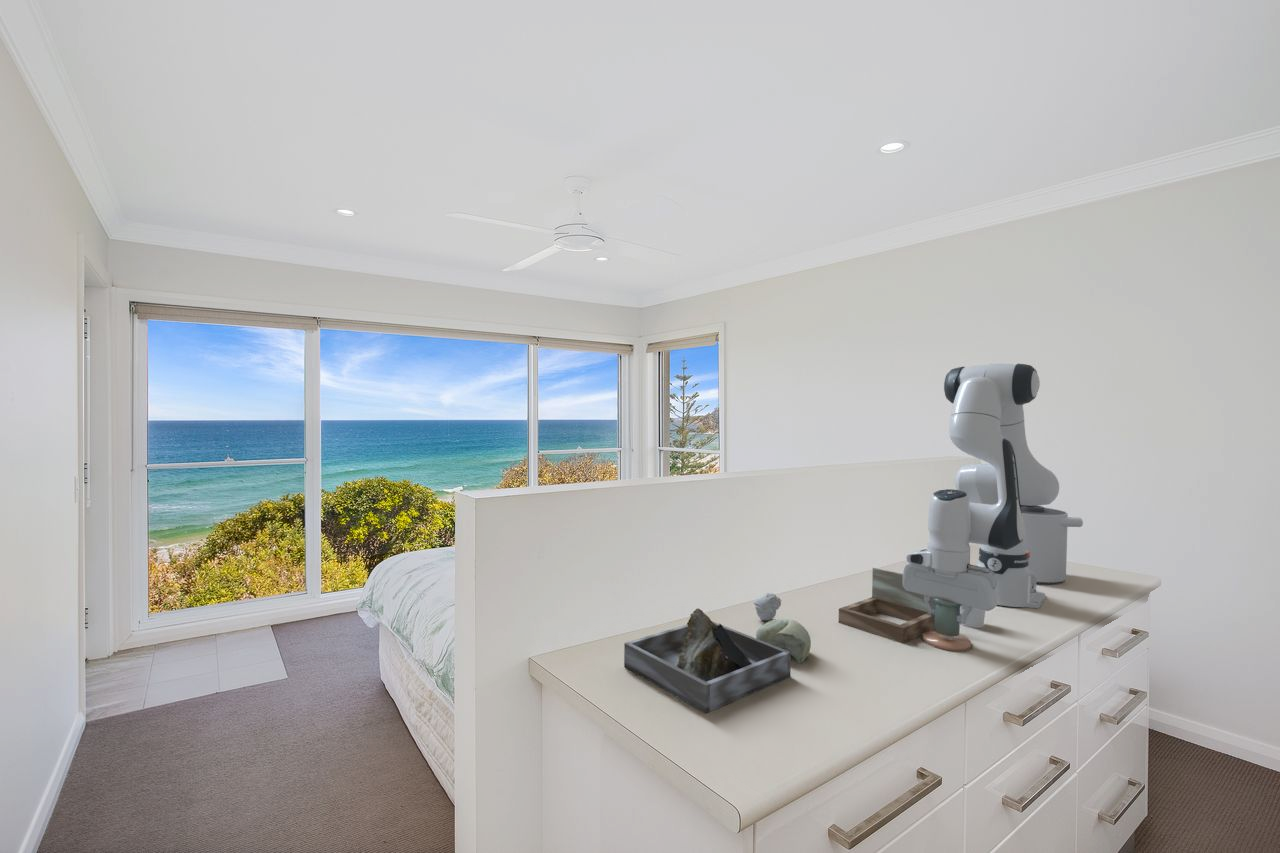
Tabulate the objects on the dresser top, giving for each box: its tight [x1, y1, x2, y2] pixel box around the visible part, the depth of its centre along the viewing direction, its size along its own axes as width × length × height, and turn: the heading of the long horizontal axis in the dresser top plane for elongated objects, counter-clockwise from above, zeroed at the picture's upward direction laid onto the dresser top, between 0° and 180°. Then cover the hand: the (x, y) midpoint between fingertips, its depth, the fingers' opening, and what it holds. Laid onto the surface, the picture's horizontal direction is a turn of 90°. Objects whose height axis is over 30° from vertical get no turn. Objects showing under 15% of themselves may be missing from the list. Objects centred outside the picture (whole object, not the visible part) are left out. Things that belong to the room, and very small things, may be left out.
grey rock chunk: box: [753, 592, 782, 622], centre depth 152 cm, size 6×7×7 cm
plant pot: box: [933, 597, 962, 636], centre depth 138 cm, size 6×6×8 cm
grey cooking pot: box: [1021, 505, 1084, 585], centre depth 196 cm, size 22×21×23 cm
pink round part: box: [922, 629, 972, 652], centre depth 138 cm, size 10×10×1 cm
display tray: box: [623, 620, 792, 714], centre depth 121 cm, size 24×24×5 cm
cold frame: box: [838, 567, 935, 644], centre depth 149 cm, size 17×17×12 cm
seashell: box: [755, 618, 812, 663], centre depth 131 cm, size 13×8×10 cm
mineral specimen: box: [677, 608, 752, 682], centre depth 119 cm, size 14×15×17 cm
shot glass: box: [960, 606, 986, 629], centre depth 151 cm, size 7×7×7 cm
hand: (947, 618), depth 138 cm, fingers closed on plant pot, 5 cm apart
